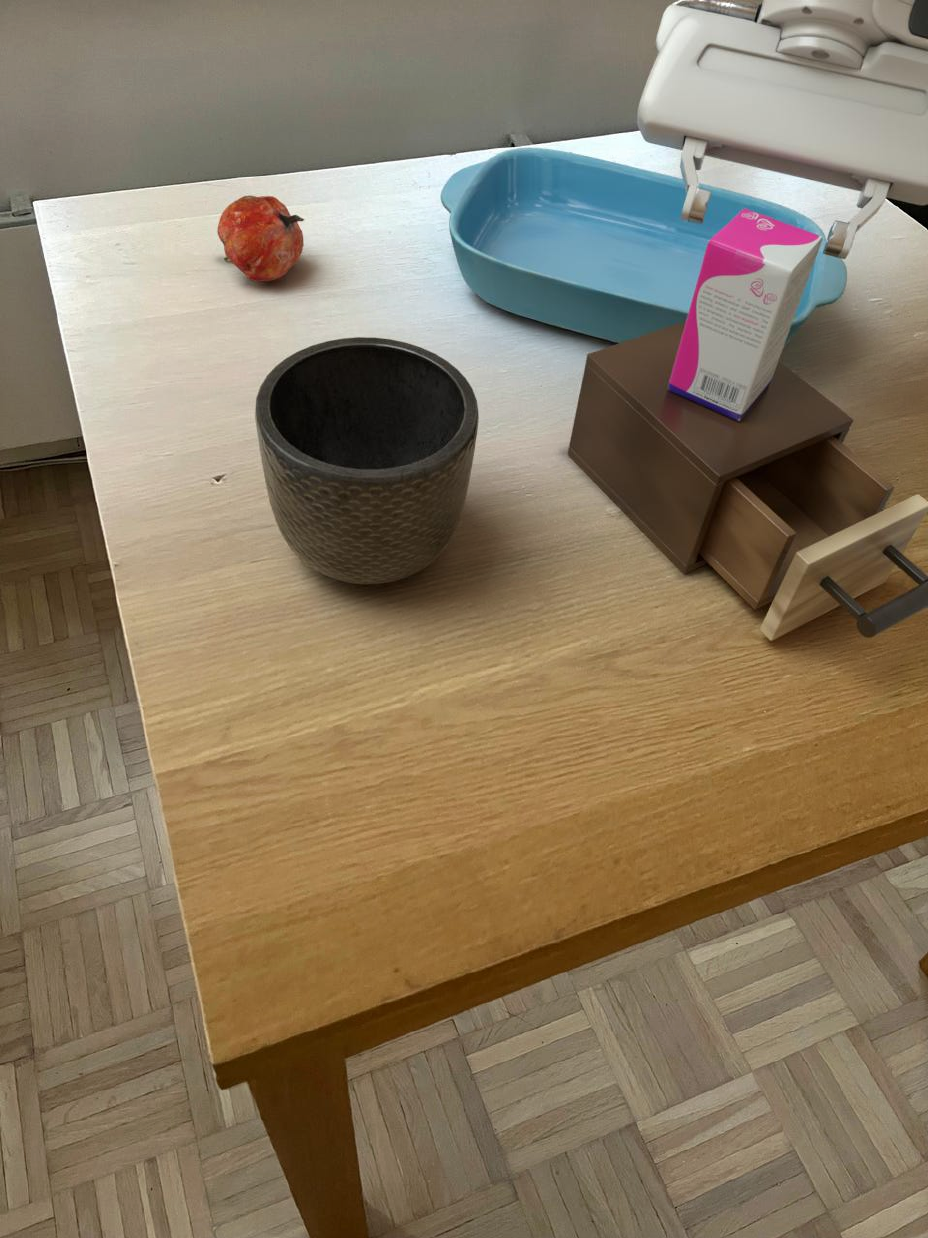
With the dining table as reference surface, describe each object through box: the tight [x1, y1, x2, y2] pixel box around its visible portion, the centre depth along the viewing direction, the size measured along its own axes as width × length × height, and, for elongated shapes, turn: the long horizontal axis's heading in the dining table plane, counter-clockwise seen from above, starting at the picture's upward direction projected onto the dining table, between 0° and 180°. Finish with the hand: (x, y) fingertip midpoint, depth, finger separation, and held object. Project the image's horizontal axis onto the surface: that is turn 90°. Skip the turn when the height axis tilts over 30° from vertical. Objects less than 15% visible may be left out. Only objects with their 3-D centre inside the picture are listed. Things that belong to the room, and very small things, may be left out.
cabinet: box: [567, 321, 854, 575], centre depth 76 cm, size 15×13×10 cm
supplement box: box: [668, 208, 823, 421], centre depth 68 cm, size 6×6×12 cm
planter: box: [254, 336, 480, 586], centre depth 68 cm, size 14×14×13 cm
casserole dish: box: [440, 147, 848, 349], centre depth 94 cm, size 37×22×7 cm, turn 72°
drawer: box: [699, 436, 928, 642], centre depth 71 cm, size 18×11×8 cm, turn 32°
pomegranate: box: [216, 194, 306, 282], centre depth 92 cm, size 7×7×10 cm
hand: (762, 237), depth 66 cm, fingers open, 8 cm apart
